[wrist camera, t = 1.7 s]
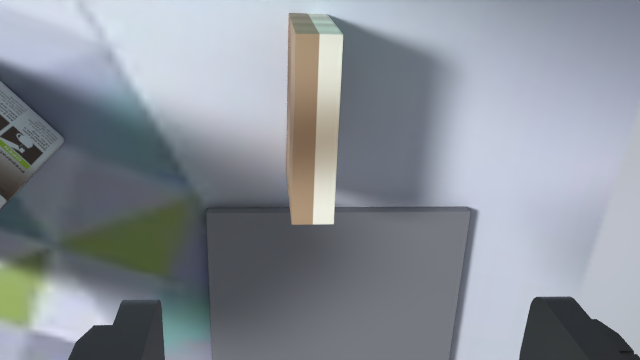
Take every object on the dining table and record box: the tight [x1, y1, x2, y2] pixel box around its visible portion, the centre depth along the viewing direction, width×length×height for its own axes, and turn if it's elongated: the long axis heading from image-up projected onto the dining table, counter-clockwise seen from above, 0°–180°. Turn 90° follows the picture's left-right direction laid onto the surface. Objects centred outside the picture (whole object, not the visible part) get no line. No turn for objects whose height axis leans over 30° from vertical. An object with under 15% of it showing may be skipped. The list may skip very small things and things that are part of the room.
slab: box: [286, 13, 343, 225], centre depth 27 cm, size 8×2×6 cm, turn 178°
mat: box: [206, 207, 471, 360], centre depth 35 cm, size 16×14×1 cm
